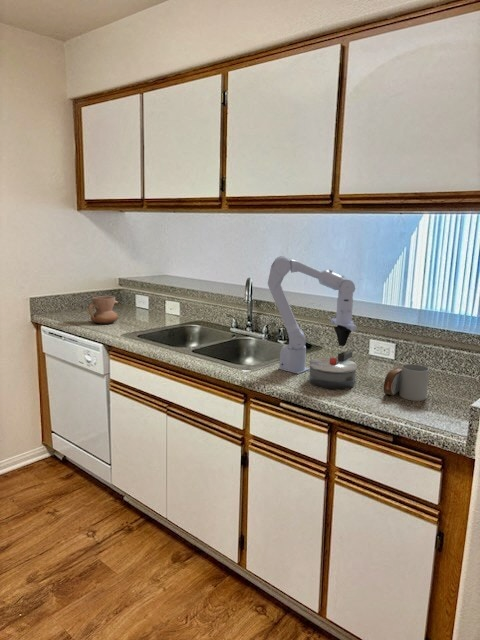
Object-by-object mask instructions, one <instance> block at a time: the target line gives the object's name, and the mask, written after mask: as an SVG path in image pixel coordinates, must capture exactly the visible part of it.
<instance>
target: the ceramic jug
mask: <svg viewBox="0 0 480 640" xmlns="http://www.w3.org/2000/svg"><path fill="white" fill-rule="evenodd" d="M91 302H92V304H90V305H89V306H88V312H89V315H90V320H91V322H93V323H95V324H99V325H100V324H101V325H109V324H113V323H115V322H117V321H118V319H119V315H118V313H117V312H115V311H113V308H114V307H115V304H118V303H119V301H117V300H116V296H113V295H99V296H94V297H91ZM93 308H94V309H95V310H96V311H94V313H93Z"/></svg>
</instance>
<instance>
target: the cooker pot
mask: <svg viewBox="0 0 480 640" xmlns="http://www.w3.org/2000/svg"><path fill="white" fill-rule="evenodd" d="M350 361H352V360H350ZM356 370H357V369H356ZM356 370H355V371H353V372H349V373H329V372H323V371H319V370H316V369H313V368H312V367H310V366H309V376H308V377H309V380H308V381H309V382H308V383H310V384H311V385H312V386H314V387H317V388H319V389H323V390H329V391H344V390H345V391H346V390H349V389H353V388H354V387H355V382H356V372H357V371H356Z"/></svg>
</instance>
